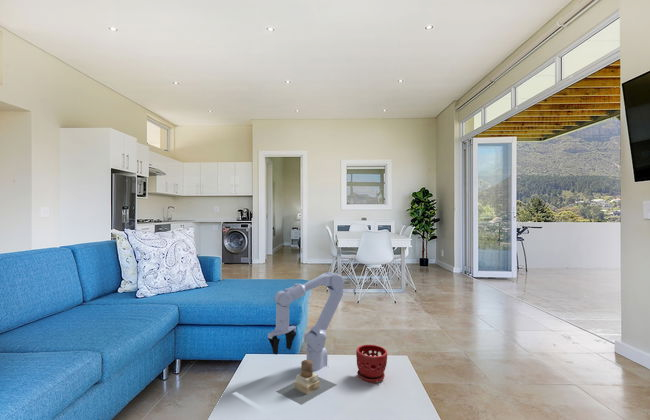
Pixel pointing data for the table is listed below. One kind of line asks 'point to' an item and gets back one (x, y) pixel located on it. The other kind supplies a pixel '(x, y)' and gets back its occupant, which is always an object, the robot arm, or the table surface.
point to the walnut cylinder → (306, 368)
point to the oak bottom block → (307, 389)
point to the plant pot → (371, 363)
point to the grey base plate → (302, 397)
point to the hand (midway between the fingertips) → (282, 351)
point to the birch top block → (307, 379)
